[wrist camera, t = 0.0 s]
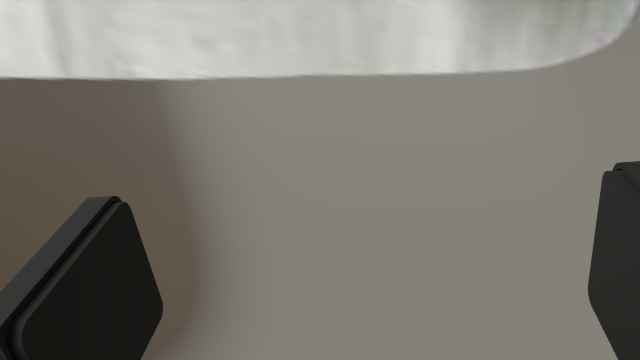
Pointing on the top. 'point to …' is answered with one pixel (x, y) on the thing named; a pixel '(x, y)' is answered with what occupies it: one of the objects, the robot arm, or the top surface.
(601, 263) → the robot arm
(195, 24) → the top surface
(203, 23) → the top surface
